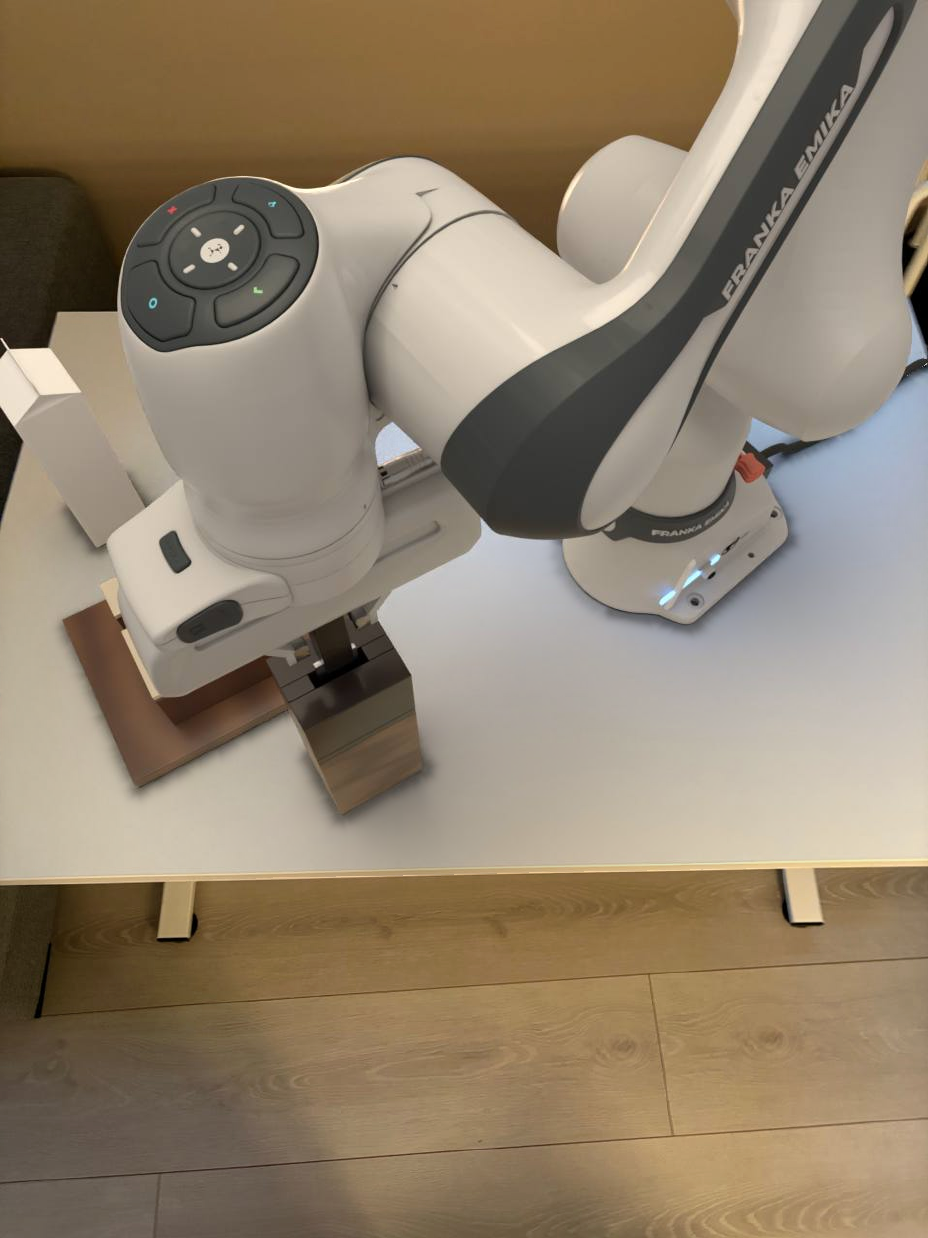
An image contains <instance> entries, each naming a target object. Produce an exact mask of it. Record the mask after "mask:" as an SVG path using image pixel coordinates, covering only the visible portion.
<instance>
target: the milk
mask: <svg viewBox="0 0 928 1238" xmlns="http://www.w3.org/2000/svg"><path fill="white" fill-rule="evenodd" d="M0 340H1V342H2V344H3V346H4V348H5V349H6V351H5V352H4V353H3V355H2V356H1V357H0V408H1V410H2V412H3V413H4V414H5V416H6V418H7V419H8V421H9V422H10V423H11V425H12V426H13V428H14V430H15V431H16V433H17V434H18V435H19V437H20V439H21V440H22V441H23V444H25V445H26V447H27V449H28V450H29V452H30V453H31V454H32V456H33V457H34V459H35V460H36V462H37V463H38V465H39V466H40V468H41V469H42V470H43V472H44V473H45V474H46V476H47V478H48V479H49V481H50V483H52V485H53V486H54V488H55V490H56V491H57V492H58V494H59V495H60V497H61V498H62V500H63V501H64V503H65V504H66V505H67V507H68V509H69V510H70V511H71V513H72V514H73V516H74V517H75V518H76V520H77V522H78V523H79V524H80V526H81V527H82V529H83V530H84V532H85V533H86V535H87V536H88V537H89V539H90V541H91V542H92V544H93V545H94V546H95V548H100V547H102V546H103V545H106V543H107V540H108V538H109V537H110V535H111V534H112V533H113V532H114V531H116V530H117V529H118V528H119V527H121V526H122V525H123V524H125V523H126V522H128V521H129V520H130V519H132V518H133V517H135V516H136V515H137V514H139V513H140V512H141V511H143V510H144V509H145V508H146V506H145V505H144V503H143V500H142V499H141V497H140V496H139V494H138V492H137V490H136V488H135V487H134V485H133V483H132V481H131V479H130V477H129V476H128V474H127V472H126V470H125V469H124V468H125V467H123V465H122V463H121V461H120V459H119V457H118V456H117V454H116V452H115V451H114V448H113V447H112V445H111V443H110V441H109V439H108V437H107V436H106V433H105V432H104V430H103V428H102V426H101V425H100V423H99V421H98V419H97V418H96V416H95V414H94V412H93V410H92V408H91V407H90V405H89V403H88V401H87V399H86V398H85V396H84V394H83V392H82V391H81V390H80V388H79V387H78V385H77V384H76V382H75V381H74V379H73V378H72V377H71V375H70V374H69V373H68V371H67V369H66V368H65V367H64V365H63V363H61V362H60V360H59V359H58V357H57V356H56V355H55V353H54V352H53V350H52V349H51V348H49V347H41V348H40V347H38V348H37V347H36V348H9V346H8V345H7V343H6V342H5V341H4V339H3V337H1V338H0Z"/></svg>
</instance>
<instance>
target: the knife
mask: <svg viewBox="0 0 928 1238" xmlns="http://www.w3.org/2000/svg"><path fill="white" fill-rule="evenodd" d="M309 636H310V639H311V642H312V645H313V648H314V651H315V653H316V654H317V656H318V658H319V661H317V662H315V663H313V666H314V669H315V671H316V674H317V677H318V680H319V683H320V686H323V685H324V684H326V683H328V682H330V681H332V680H334V679H336V678H338V677H340V676H342V675H344V674H346V673H347V672H349V671H351V670H353V669H355V668H357V667H359V666H361V665H360V661H359V656H358V652H357V648H356V646H355V644H354V643H352V644H351V642H350V638H349V634H348V630H347V626H346V622H345V618H344V615H343V616H341V617H339V618H337V619H335V620H333V621H331V622H329V623H327V624H325V625H323V626H321V627H319V628H317V629H315V630H313V631H311V632H309Z"/></svg>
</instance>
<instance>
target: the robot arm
mask: <svg viewBox="0 0 928 1238" xmlns="http://www.w3.org/2000/svg"><path fill="white" fill-rule="evenodd" d="M724 1H725V3H726V5H727V6H728V9H729V10H730V12H731V14H732V15H733V18H734V20H735V21H736V24H737V44H736V49H735V55H734V59H733V63H732V67H731V70H730V71H729V74H728V78H727V80H726V82H725V85H724V86H723V89H722V91H721V93H720V95H719V97H718V99H717V101H716V102H715V104H714V106H713V108H712V109H711V111H710V114H709V115H708V117H707V119H706V121H705V122H704V124H703V126H702V127H701V129H700V131H699V133H698V135H697V137H696V139H695V140H694V142H693V144H692V145H691V147H690V149H689V151H686V150H683V149H680V148H678V147H677V146H676V147H675V146H672V145H670V144H668V143H664V142H661V141H658V140H654V139H651V138H649V137H646V136H642V135H640V134H639V135H638V134H631V135H626V136H623V137H621V138H619V139H616V140H614V141H612V142H610V143H609V144H607V145H604V147H602V148H600V149H599V150H598V151H596V152H595V153H594V154H592V156H591V157H589V158H588V160H586V161H585V162H584V164H583V165H582V166H581V167H580V168H579V170H578V171H577V172H576V174H575V175H574V177H573V178H572V180H571V182H570V183H569V185H568V187H567V188H566V190H565V193H564V196H563V198H562V201H561V204H560V208H559V212H558V215H557V216H558V217H557V223H556V247H557V253H558V254H559V255H557V254H556V253H555V252H554V251H552V250H551V249H550V248H548V247H547V246H546V245H545V244H544V243H542V242H541V241H540V240H539V239H537V238H536V237H534V236H533V235H532V234H531V233H529V232H528V231H527V230H525V229H524V228H523V227H521V225H520V223H518V221H517V220H516V219H515V218H513V217H512V216H511V215H509V214H508V213H507V212H506V211H504V210H503V209H502V208H500V207H499V206H498V205H496V203H494V202H493V201H491V199H490V198H488V197H487V196H485V195H484V194H483V193H481V191H479V190H477V189H476V188H475V187H473V186H472V185H471V184H469V183H468V182H467V181H465V180H464V179H462V178H461V177H460V176H458V174H456V173H454V172H453V171H450V170H449V169H447V168H445V167H444V166H443V165H442V164H440V163H439V162H438V161H436V160H433V159H432V158H429V157H426V156H421V155H417V154H416V155H415V154H402V155H395V156H390V157H385V158H382V159H379V160H376V161H373V162H370V163H368V164H365V165H363V166H361V167H357V169H354V170H352V171H350V172H349V173H347V174H345V175H343V176H342V177H340V178H338V179H337V180H335V181H333V182H332V183H330V184H328V185H327V186H324V187H323V186H322V187H315V188H296V187H293V186H290V185H286V184H283V183H281V182H279V181H277V180H272V179H269V178H265V177H261V176H260V177H258V176H247V175H246V176H245V175H244V176H243V175H241V176H227V177H221V178H216V179H213V180H210V181H206V182H203V183H201V184H197V185H194V186H193V187H190V188H188V189H186V190H184V191H182V192H180V193H179V194H176V195H174V197H171V198H170V199H169V200H168V201H166V202H165V203H163V204H161V205H159V207H157V208H156V209H155V210H154V211H153V212H152V213H151V214H150V215H149V216H148V217H147V218H146V219H145V220H144V221H143V223H142V224H141V225H140V226H139V228H138V229H137V231H136V232H135V234H134V235H133V237H132V238H131V241H130V243H129V244H128V247H127V249H126V251H125V255H124V257H123V260H122V264H121V267H120V273H119V278H118V287H117V296H116V297H117V298H116V299H117V301H116V302H117V303H116V304H117V306H116V307H117V320H118V327H119V328H118V329H119V333H120V335H119V336H120V339H121V344H122V348H123V351H124V356H125V359H126V363H127V366H128V370H129V373H130V377H131V380H132V382H133V385H134V387H135V391H136V394H137V397H138V399H139V402H140V405H141V407H142V410H143V412H144V415H145V418H146V420H147V423H148V425H149V427H150V430H151V431H152V434H153V436H154V438H155V440H156V443H157V445H158V447H159V450H160V451H161V453H162V455H163V457H164V459H165V461H166V463H167V464H168V465H169V467H170V468H171V470H172V471H173V472H174V473H175V475H176V476H178V478H179V479H178V480H177V481H176V482H174V484H172V485H171V486H170V487H169V488H168V489H167V490H166V491H165V492H164V493H162V494H161V495H160V496H159V497H158V498H156V500H154V501H152V502H151V503H150V504H149V505H148V506H145V509H144V510H143V511H141V512H140V513H139V514H137V515H136V516H135V517H133V518H132V519H130V520H129V521H128V522H126V523H125V524H123V525H122V526H121V527H119V528H118V529H117V530H116V531H114V532H113V533H112V534H111V535H110V537H109V538H108V540H107V543H105V545H106V549H107V553H108V556H109V560H110V563H111V566H112V569H113V572H114V575H115V577H117V580H118V583H119V587H118V593H117V599H118V605H119V609H120V612H121V615H122V618H123V621H124V623H125V626H126V628H127V631H128V633H129V635H130V637H131V640H132V642H133V644H134V646H135V649H136V651H137V653H138V656H139V658H140V660H141V662H142V664H143V666H144V668H145V670H146V672H147V674H148V676H149V678H150V680H151V682H152V684H153V686H154V688H155V689H156V691H157V693H158V694H159V695H160V696H162V697H180V696H184V695H186V694H188V693H190V692H192V691H194V690H196V689H198V688H200V687H202V686H204V685H206V684H208V683H210V682H212V681H214V680H216V679H218V678H220V677H222V676H224V675H226V674H227V673H229V672H231V671H233V670H235V669H237V668H239V667H241V666H243V665H245V664H247V663H249V662H251V661H253V660H255V659H257V658H259V657H261V656H263V655H266V656H275V657H285V659H286V660H287V662H288V664H289V666H292V665H293V664H295V663H298V662H299V661H301V660H303V659H305V658H307V657H309V656H311V653H310V651H309V648H308V645H307V643H306V642H305V640H304V638H303V637H302V636H303V635H305V634H307V633H309V632H311V631H313V630H315V629H317V628H319V627H321V626H323V625H325V624H327V623H329V622H331V621H333V620H335V619H337V618H339V617H341V616H343V615H344V614H346V613H347V615H348V617H349V619H350V620H351V621H353V625H354V627H355V629H356V630H357V631H359V630H361V629H363V628H365V627H367V626H369V625H372V624H374V623H376V622H377V621H379V616H378V612H377V611H379V610H380V608H381V607H382V606H383V604H384V603H385V602H386V600H387V598H388V597H389V596H390V595H391V593H392V592H393V591H394V590H396V589H398V588H400V587H402V586H404V585H406V584H407V583H410V582H412V581H414V580H416V579H418V578H420V577H421V576H424V575H426V574H428V573H431V571H434V570H436V569H437V568H440V567H442V566H443V565H446V564H448V563H449V562H452V561H454V560H455V559H458V558H460V557H461V556H464V555H465V554H467V553H469V552H470V551H471V550H472V549H473V548H474V547H475V545H476V544H477V543H478V541H479V540H480V539H481V537H482V529H483V528H482V521H483V522H484V523H485V524H486V526H487V527H488V528H489V529H490V530H491V531H492V532H493V533H495V534H497V535H499V536H506V537H511V538H518V539H524V540H536V541H557V540H558V541H559V540H562V544H561V545H562V554H563V558H564V562H565V564H566V567H567V570H568V572H569V573H570V575H571V576H572V578H573V580H574V581H575V582H576V583H577V585H578V586H579V587H580V588H581V589H582V590H583V591H584V592H586V593H587V594H588V595H589V596H591V597H592V598H593V599H595V600H596V601H598V602H599V603H601V604H604V605H606V606H608V607H610V608H613V609H616V610H619V611H623V612H628V613H637V614H653V615H658V616H660V617H662V618H665V619H667V620H670V621H671V622H672V621H673V622H675V623H678V624H681V625H691V624H693V623H694V622H696V621H697V620H698V619H699V618H701V617H702V616H703V615H704V614H705V613H706V612H707V611H709V610H710V609H711V608H712V607H713V606H715V604H716V603H718V602H719V601H720V600H721V599H722V598H723V597H724V596H726V595H727V594H728V593H729V592H730V591H732V589H734V588H735V587H736V586H737V585H738V584H739V583H740V582H742V581H743V580H744V579H746V577H747V576H748V575H749V574H751V573H752V572H753V571H754V570H756V568H757V567H759V566H760V565H761V564H762V563H764V561H766V560H767V559H768V558H769V557H771V555H772V554H773V553H775V552H776V551H777V550H778V549H779V548H780V547H782V546H783V544H784V543H785V542H786V541H787V537H788V536H789V530H788V524H787V519H786V516H785V513H784V512H783V509H782V506H781V505H780V504H779V501H778V500H777V498H776V497H775V495H774V493H773V491H772V488H771V486H770V484H769V482H768V480H767V479H768V478H769V475H770V474H771V471H772V469H773V467H774V463H773V462H771V461H770V460H769V459H770V458H772V457H773V456H775V455H778V454H780V453H782V454H784V455H788V454H793V453H795V452H798V451H801V450H804V449H806V448H808V447H811V446H812V445H815V444H817V443H819V442H821V441H823V440H825V439H830V438H833V437H837V436H839V435H842V434H844V433H846V432H848V431H851V430H853V429H854V428H856V427H857V426H859V425H860V424H862V423H864V422H865V421H867V420H868V419H869V418H870V417H872V416H873V415H874V414H875V413H876V412H877V411H879V409H881V407H882V406H883V405H884V404H885V403H886V402H887V401H888V400H889V399H890V398H891V396H892V394H893V393H894V392H895V390H896V389H897V387H898V385H899V384H900V383H901V382H902V381H904V380H905V379H907V378H908V377H910V375H912V374H913V373H915V372H916V371H918V370H920V369H922V368H928V364H927V365H925V364H926V363H928V358H927V359H924V358H925V357H923V358H919V359H917V360H915V361H913V362H911V363H910V364H908V362H909V360H910V355H911V351H912V345H913V344H912V343H913V321H912V315H911V312H910V308H909V307H910V306H909V304H908V300H907V297H906V291H905V284H904V277H903V276H904V275H903V243H904V233H905V227H906V221H907V216H908V211H909V206H910V203H911V200H912V197H913V194H914V189H915V186H916V184H917V181H918V178H919V175H920V173H921V171H922V168H923V166H924V164H925V162H926V160H927V157H928V0H724ZM924 365H925V366H924ZM922 366H923V367H922ZM921 367H922V368H921ZM919 368H920V369H919ZM917 369H918V370H917ZM914 371H915V372H914ZM912 372H913V373H912ZM909 374H910V375H909ZM907 375H908V376H907ZM753 419H755V420H757V421H759V422H761V423H763V424H765V425H767V426H769V427H771V428H773V429H774V430H777V431H780V432H782V433H784V434H786V435H788V436H791V437H793V438H795V439H798V440H796V441H793V442H791V443H788V444H787V443H785V442H780V443H776V444H773V445H770V446H769V447H767V448H764V449H763V450H760V451H759V450H758V449H757V448H756V447H755V446H754V445H753V444H751V442H749V441H748V438H749V436H750V433H751V430H752V429H751V428H752V422H753ZM391 423H393V424H394V425H395V426H396V427H398V429H399V430H400V431H401V432H403V434H405V435H406V436H407V437H408V438H409V439H410V440H411V441H412V442H413V443H414V444H415V445H416V446H418V447H416V448H414V449H411V450H409V451H407V452H405V453H402V454H400V455H398V456H396V457H394V458H392V459H390V460H387V461H386V462H382V463H381V464H379V463H378V457H377V450H376V443H377V442H376V441H377V438H378V436H379V434H380V433H381V431H382V430H383V429H385V428H386V427H387V426H388V425H390V424H391ZM378 464H379V465H378ZM771 515H772V516H771ZM773 516H774V517H773ZM692 602H694V603H696V604H697V605H694V604H693V603H692Z"/></svg>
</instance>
